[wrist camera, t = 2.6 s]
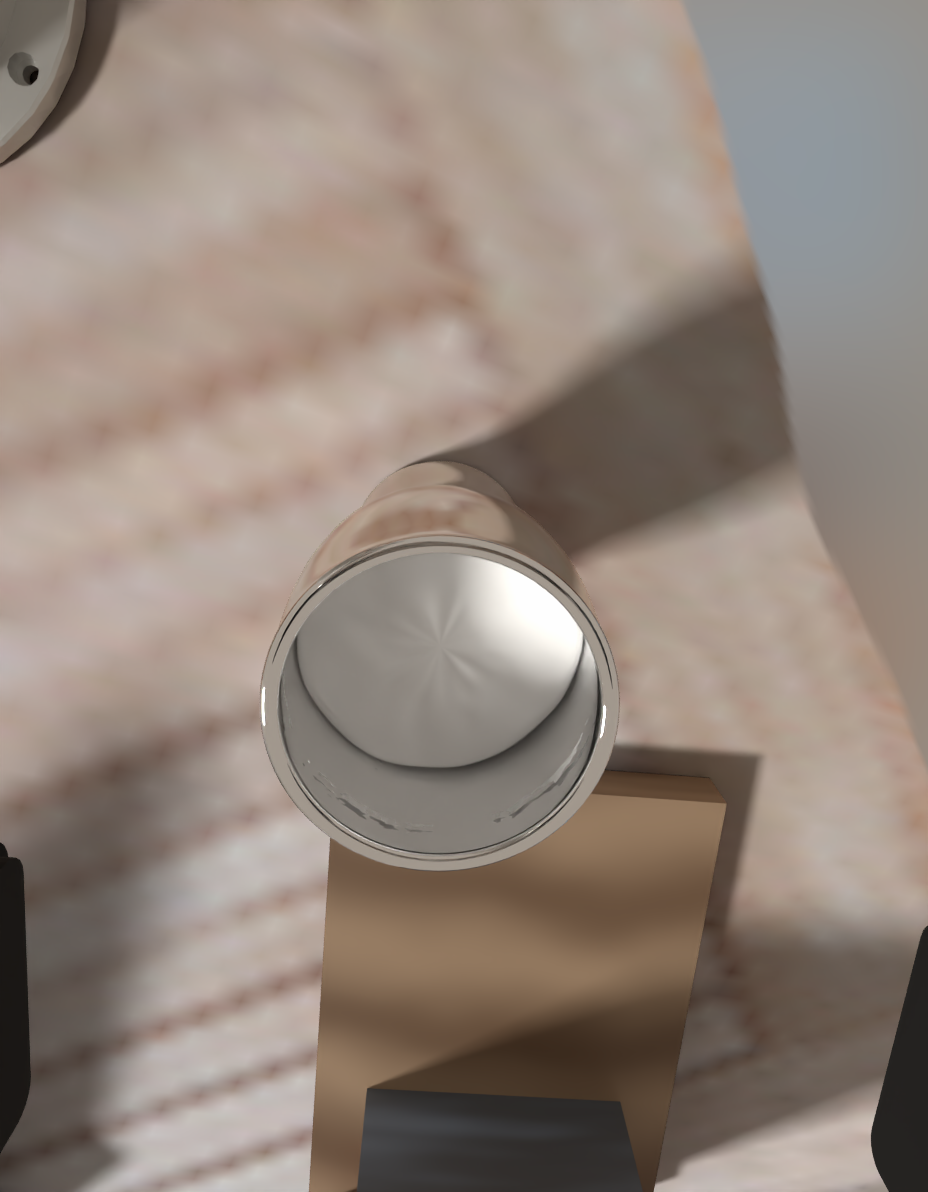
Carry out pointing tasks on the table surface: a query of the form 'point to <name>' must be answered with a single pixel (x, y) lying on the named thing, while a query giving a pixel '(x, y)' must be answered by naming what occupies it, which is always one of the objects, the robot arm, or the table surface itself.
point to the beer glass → (439, 678)
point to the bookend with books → (515, 1003)
